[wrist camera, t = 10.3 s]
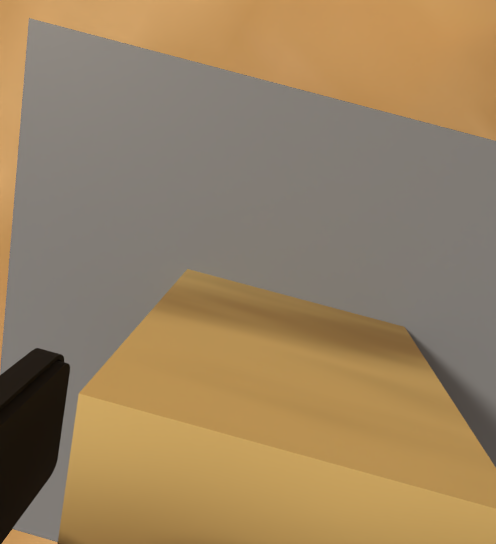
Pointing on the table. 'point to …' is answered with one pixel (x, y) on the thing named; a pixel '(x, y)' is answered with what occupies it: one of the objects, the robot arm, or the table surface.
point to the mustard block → (271, 431)
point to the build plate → (236, 215)
